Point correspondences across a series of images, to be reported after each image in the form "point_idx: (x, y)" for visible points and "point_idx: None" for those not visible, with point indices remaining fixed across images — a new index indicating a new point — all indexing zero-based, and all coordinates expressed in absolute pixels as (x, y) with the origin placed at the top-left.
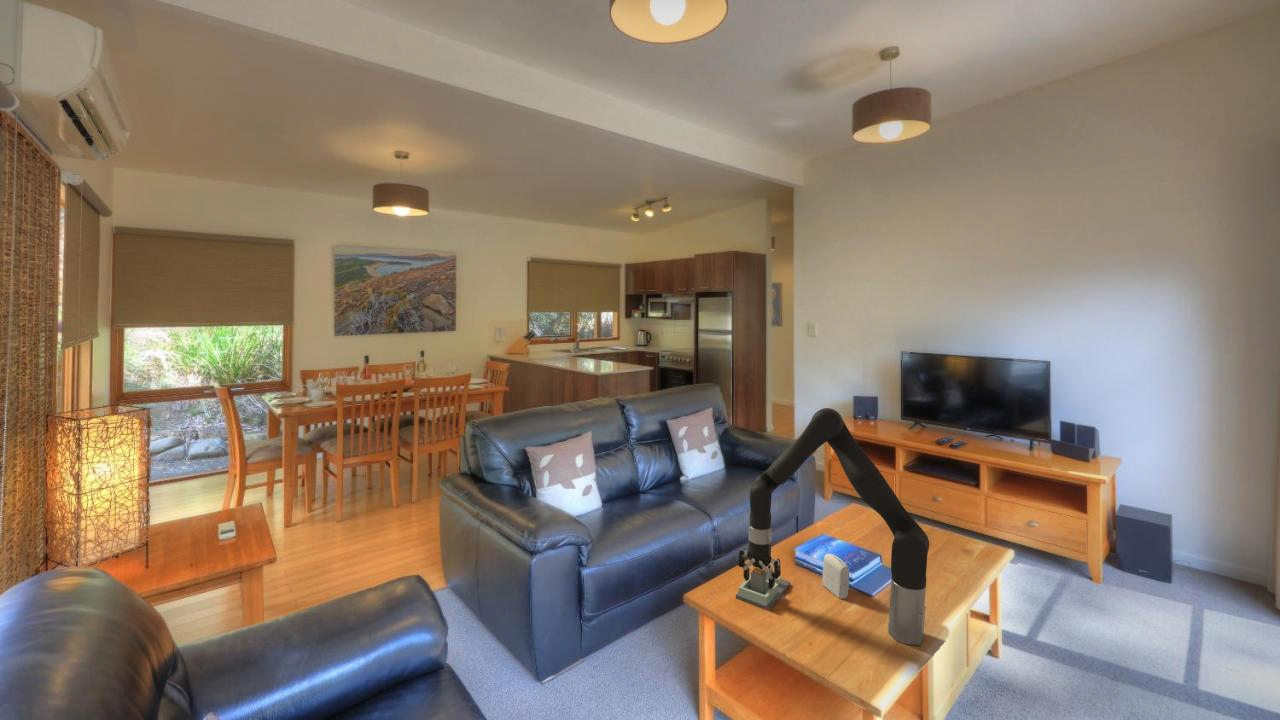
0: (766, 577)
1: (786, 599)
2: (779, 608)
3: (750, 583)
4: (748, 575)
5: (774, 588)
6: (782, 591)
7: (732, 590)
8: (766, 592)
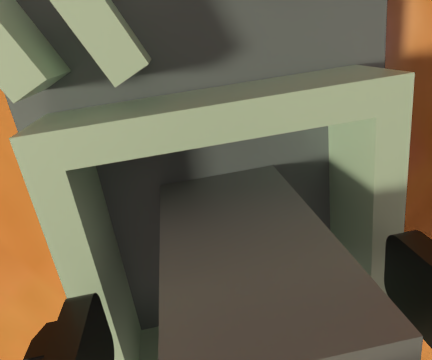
0: (351, 255)
1: (421, 62)
2: (410, 212)
3: (94, 199)
4: (92, 354)
5: (405, 190)
6: (384, 7)
7: (3, 282)
8: (271, 153)
